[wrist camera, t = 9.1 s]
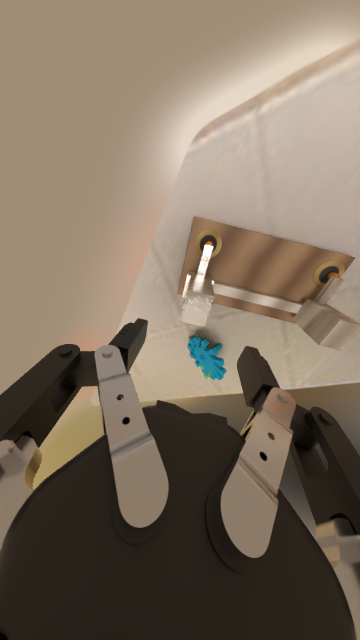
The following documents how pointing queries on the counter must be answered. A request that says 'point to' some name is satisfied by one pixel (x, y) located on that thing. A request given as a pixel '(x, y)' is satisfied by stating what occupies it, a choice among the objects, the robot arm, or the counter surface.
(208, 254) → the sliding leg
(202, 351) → the blue branching piece
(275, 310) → the plate
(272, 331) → the counter surface
